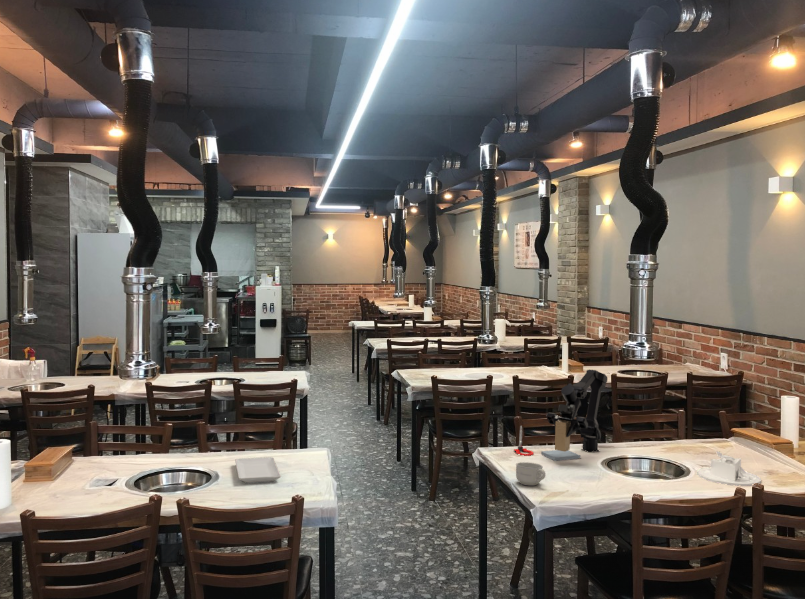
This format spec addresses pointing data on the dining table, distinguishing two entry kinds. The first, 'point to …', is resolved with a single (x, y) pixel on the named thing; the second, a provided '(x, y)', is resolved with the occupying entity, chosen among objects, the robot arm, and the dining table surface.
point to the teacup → (529, 473)
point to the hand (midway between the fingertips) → (561, 435)
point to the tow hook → (522, 447)
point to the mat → (560, 455)
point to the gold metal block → (562, 435)
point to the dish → (728, 472)
